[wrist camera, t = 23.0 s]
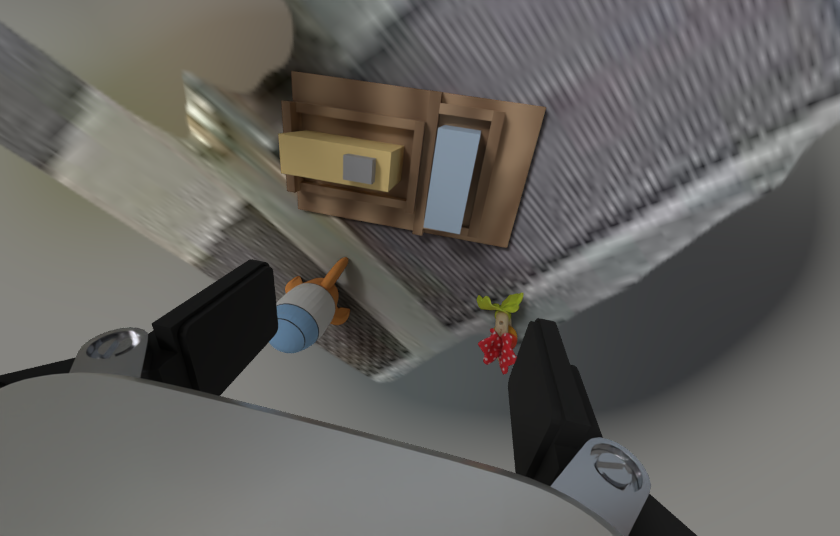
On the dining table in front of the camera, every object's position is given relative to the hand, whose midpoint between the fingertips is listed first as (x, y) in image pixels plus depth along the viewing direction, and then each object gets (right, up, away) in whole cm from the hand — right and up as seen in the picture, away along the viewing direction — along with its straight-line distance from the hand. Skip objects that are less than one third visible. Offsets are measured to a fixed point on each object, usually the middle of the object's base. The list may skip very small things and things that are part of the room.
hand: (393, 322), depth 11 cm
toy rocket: (-14, 0, +37) cm, 40 cm away
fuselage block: (-7, +16, +27) cm, 32 cm away
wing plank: (+5, +13, +26) cm, 30 cm away
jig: (-1, +15, +27) cm, 31 cm away
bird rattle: (+13, -4, +34) cm, 37 cm away
